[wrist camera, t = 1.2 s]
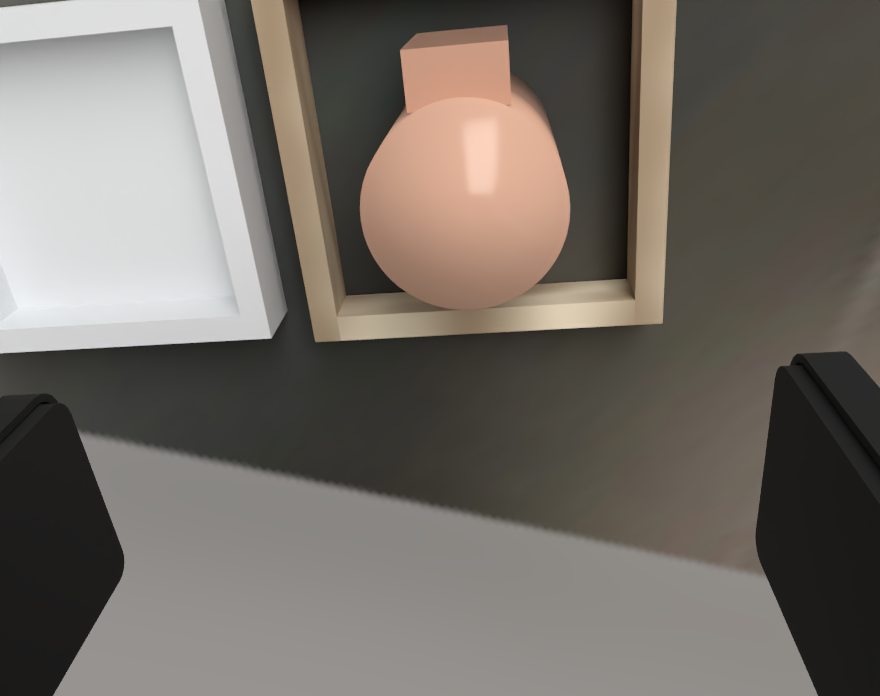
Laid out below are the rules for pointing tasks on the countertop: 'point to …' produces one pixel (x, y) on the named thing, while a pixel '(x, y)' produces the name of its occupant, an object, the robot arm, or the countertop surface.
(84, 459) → the robot arm
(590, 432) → the countertop surface
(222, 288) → the tray
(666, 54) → the light wooden square frame
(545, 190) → the pink cylinder with tab
